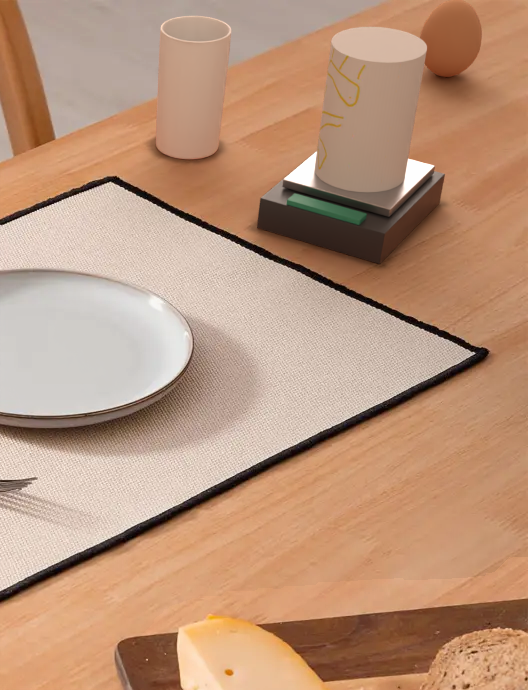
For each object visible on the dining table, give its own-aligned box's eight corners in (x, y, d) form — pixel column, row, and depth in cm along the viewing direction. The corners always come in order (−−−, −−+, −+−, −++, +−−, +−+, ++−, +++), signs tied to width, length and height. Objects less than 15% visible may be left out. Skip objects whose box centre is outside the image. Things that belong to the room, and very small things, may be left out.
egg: (414, 61, 172) (426, -13, 167) (474, 66, 171) (488, -9, 166) (413, 83, 167) (426, 8, 162) (474, 89, 166) (489, 13, 161)
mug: (213, 165, 151) (224, 45, 144) (146, 156, 153) (153, 37, 145) (232, 123, 159) (243, 8, 152) (167, 115, 160) (175, 0, 153)
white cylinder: (309, 151, 145) (326, 25, 137) (397, 153, 145) (418, 27, 137) (320, 191, 138) (337, 61, 131) (411, 193, 138) (434, 63, 131)
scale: (439, 203, 145) (446, 169, 143) (379, 264, 136) (385, 228, 134) (322, 171, 150) (326, 137, 148) (256, 227, 141) (260, 193, 139)
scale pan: (434, 173, 143) (435, 165, 143) (389, 217, 136) (390, 209, 136) (330, 146, 148) (331, 138, 147) (282, 187, 141) (283, 179, 140)
